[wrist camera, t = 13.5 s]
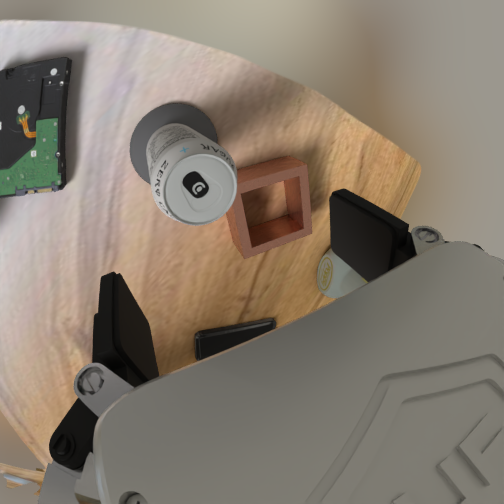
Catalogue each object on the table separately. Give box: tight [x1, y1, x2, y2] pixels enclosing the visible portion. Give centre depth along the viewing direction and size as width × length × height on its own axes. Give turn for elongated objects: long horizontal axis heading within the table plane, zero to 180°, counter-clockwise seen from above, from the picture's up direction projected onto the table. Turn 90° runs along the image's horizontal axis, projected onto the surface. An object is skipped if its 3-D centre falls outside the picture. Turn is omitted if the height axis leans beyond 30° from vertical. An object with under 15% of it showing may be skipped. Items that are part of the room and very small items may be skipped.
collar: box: [226, 156, 312, 259], centre depth 35 cm, size 10×10×4 cm
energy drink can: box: [146, 123, 238, 226], centre depth 23 cm, size 6×6×15 cm
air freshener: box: [317, 249, 368, 298], centre depth 45 cm, size 11×8×10 cm
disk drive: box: [0, 57, 72, 198], centre depth 20 cm, size 10×3×15 cm
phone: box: [195, 318, 276, 361], centre depth 50 cm, size 8×1×15 cm
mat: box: [130, 104, 217, 184], centre depth 29 cm, size 10×10×1 cm
